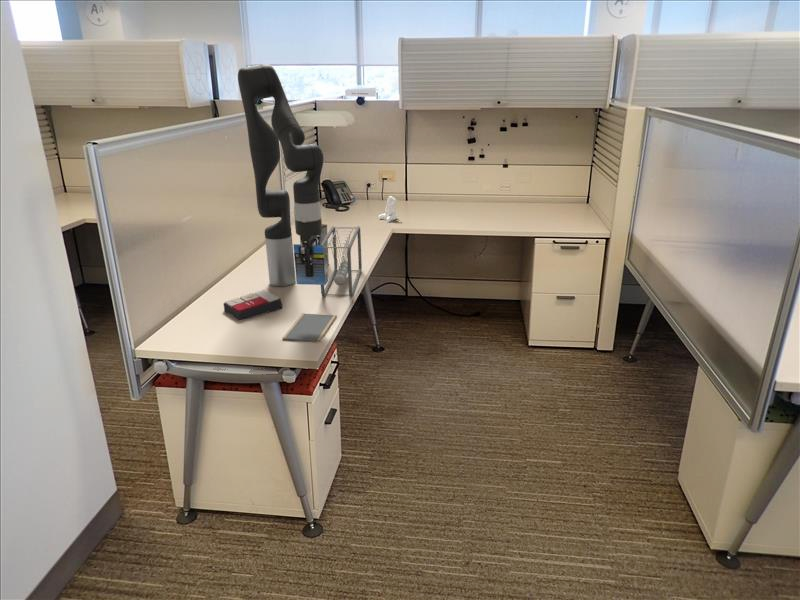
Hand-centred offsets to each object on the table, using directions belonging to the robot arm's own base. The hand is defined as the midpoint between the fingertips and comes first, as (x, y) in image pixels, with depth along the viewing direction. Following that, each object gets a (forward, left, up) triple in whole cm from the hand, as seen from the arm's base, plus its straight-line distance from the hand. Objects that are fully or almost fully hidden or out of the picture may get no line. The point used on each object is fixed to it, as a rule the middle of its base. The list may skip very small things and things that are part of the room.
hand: (311, 273), depth 169 cm
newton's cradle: (-34, 0, -16) cm, 37 cm away
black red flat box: (-7, -22, -16) cm, 28 cm away
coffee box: (-53, -16, -16) cm, 57 cm away
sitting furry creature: (-130, 0, -16) cm, 131 cm away
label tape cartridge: (0, 0, -3) cm, 3 cm away
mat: (+5, 0, -15) cm, 16 cm away
